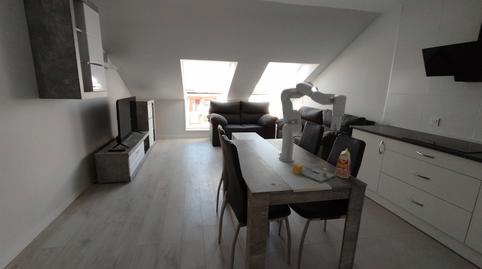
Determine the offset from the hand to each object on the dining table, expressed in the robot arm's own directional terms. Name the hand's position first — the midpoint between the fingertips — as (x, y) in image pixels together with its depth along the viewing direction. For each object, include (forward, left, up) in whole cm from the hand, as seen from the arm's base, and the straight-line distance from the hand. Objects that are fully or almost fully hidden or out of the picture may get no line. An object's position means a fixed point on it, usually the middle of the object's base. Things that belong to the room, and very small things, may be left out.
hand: (334, 138), depth 155 cm
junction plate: (-6, -5, -28) cm, 29 cm away
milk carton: (+4, +11, -28) cm, 31 cm away
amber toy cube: (-18, -13, -28) cm, 36 cm away
